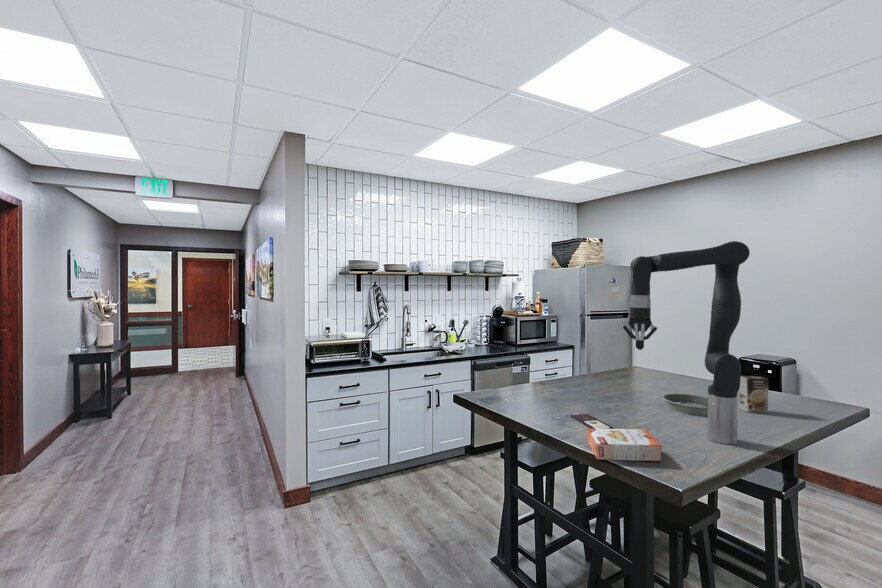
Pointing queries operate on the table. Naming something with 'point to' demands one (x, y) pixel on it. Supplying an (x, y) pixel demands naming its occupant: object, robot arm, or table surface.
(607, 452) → the cracker box
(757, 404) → the coffee box
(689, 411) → the cake pan
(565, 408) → the table surface
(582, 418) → the chocolate bar
